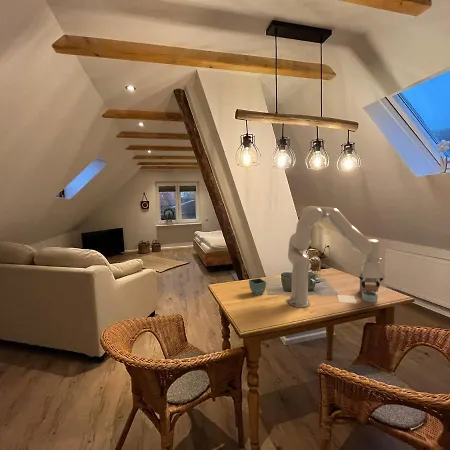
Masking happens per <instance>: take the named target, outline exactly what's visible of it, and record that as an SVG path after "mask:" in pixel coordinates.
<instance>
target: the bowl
mask: <svg viewBox="0 0 450 450" xmlns="http://www.w3.org/2000/svg"><path fill="white" fill-rule="evenodd" d="M378 296H379V295H378V292H376V293H375V292H373V291H363V292H362V293H361V299H362V301H365V302H368V303H376V301H377V302H378V298H379V297H378Z"/></svg>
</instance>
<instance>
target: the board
mask: <svg viewBox="0 0 450 450" xmlns="http://www.w3.org/2000/svg"><path fill="white" fill-rule="evenodd" d="M364 289H365V291H375V292H376V293H378V292H379V288H378V286H377V285H376V283H368V282H365V288H364Z"/></svg>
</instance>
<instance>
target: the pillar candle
mask: <svg viewBox="0 0 450 450" xmlns="http://www.w3.org/2000/svg"><path fill="white" fill-rule="evenodd" d="M360 276H361V277H363V275H362V274H361V275H360ZM364 281H365V282H368V283H376V281H377V279H376V278H366V279H365V280H364ZM363 291H365V289H364V288H363V286H362V280H361V279H360V278H359V293H360V294H362V292H363ZM373 292H375V291H373ZM375 293H377V292H375Z"/></svg>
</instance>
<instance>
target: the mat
mask: <svg viewBox="0 0 450 450" xmlns="http://www.w3.org/2000/svg"><path fill="white" fill-rule="evenodd" d="M337 298H338V302H339V303H346V304H357V300H356V298H355V296H354V295H345V294H337Z"/></svg>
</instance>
